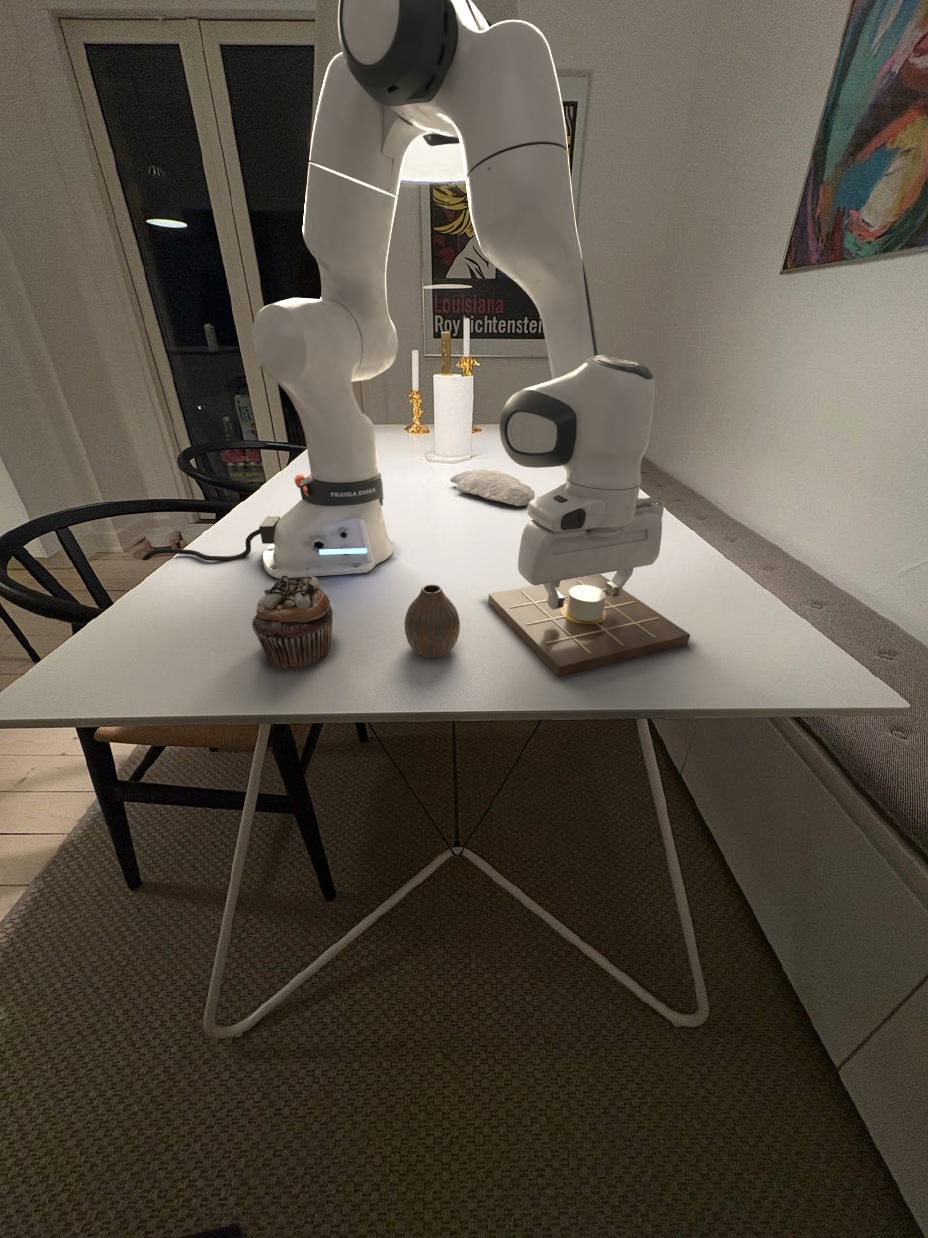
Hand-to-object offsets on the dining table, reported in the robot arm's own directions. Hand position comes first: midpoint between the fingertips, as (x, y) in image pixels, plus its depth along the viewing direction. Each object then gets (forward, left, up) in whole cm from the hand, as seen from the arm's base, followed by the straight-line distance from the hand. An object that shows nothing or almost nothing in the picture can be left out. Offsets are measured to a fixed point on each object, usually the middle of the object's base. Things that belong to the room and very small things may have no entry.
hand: (584, 600), depth 70 cm
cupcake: (-38, +7, -4) cm, 39 cm away
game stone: (0, 0, -2) cm, 2 cm away
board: (0, 0, -3) cm, 3 cm away
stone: (+15, +61, -4) cm, 63 cm away
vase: (-22, +1, -4) cm, 22 cm away
